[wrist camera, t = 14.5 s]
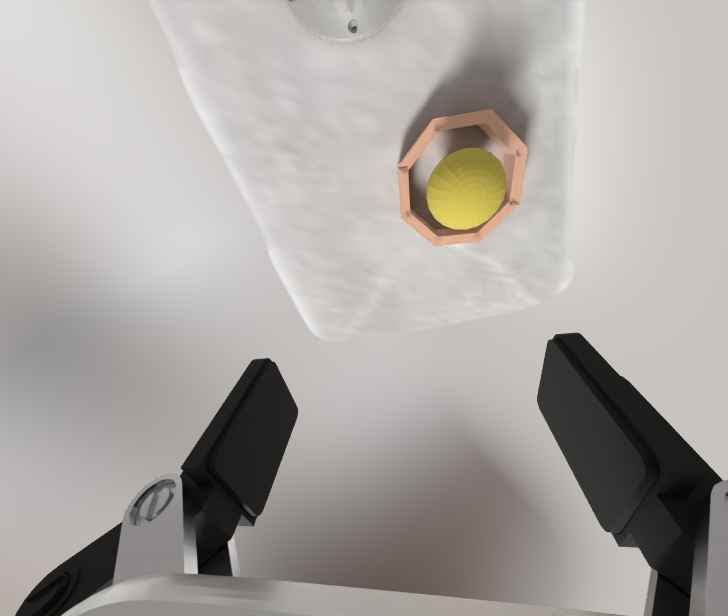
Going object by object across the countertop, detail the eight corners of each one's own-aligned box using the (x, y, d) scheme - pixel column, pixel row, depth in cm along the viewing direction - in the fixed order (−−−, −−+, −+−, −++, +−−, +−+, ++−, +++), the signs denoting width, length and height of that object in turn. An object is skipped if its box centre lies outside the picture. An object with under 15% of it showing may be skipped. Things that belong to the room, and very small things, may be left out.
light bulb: (419, 152, 29) (427, 158, 20) (486, 139, 27) (524, 139, 19) (423, 216, 32) (431, 244, 24) (482, 208, 31) (514, 233, 22)
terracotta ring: (395, 126, 28) (394, 125, 25) (521, 104, 26) (535, 101, 23) (402, 240, 34) (403, 248, 31) (505, 230, 32) (514, 238, 29)
